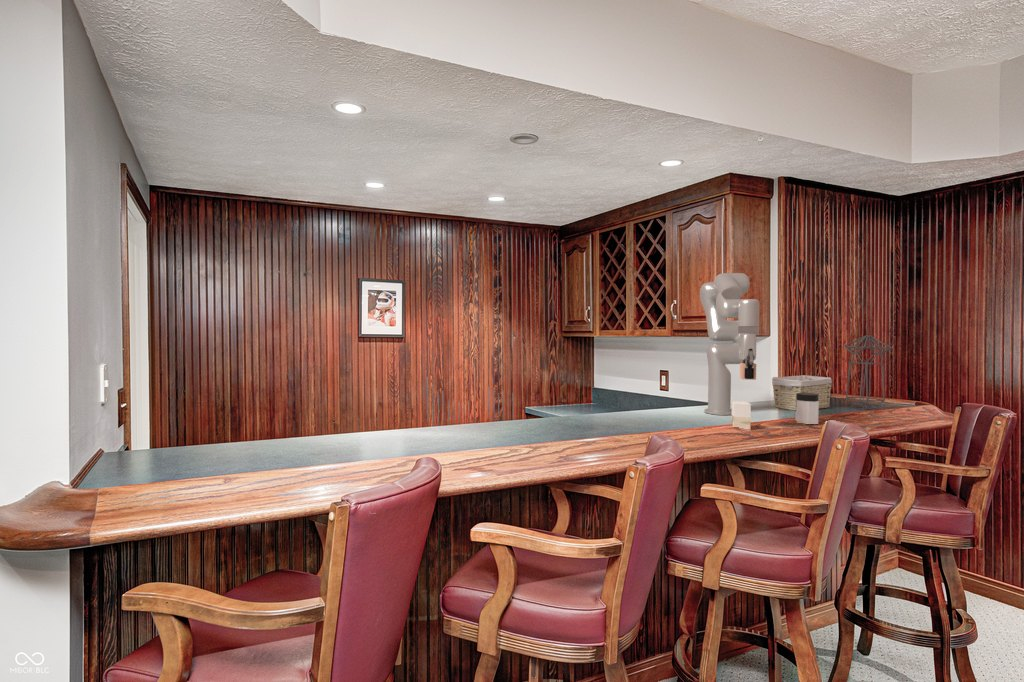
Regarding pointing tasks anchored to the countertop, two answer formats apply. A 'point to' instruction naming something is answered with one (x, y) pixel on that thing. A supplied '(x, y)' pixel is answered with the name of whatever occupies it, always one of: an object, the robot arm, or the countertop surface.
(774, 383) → the storage basket
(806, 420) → the jar
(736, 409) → the middle block
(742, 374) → the top block
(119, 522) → the countertop surface
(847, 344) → the geometric lantern
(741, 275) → the robot arm
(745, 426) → the base block
